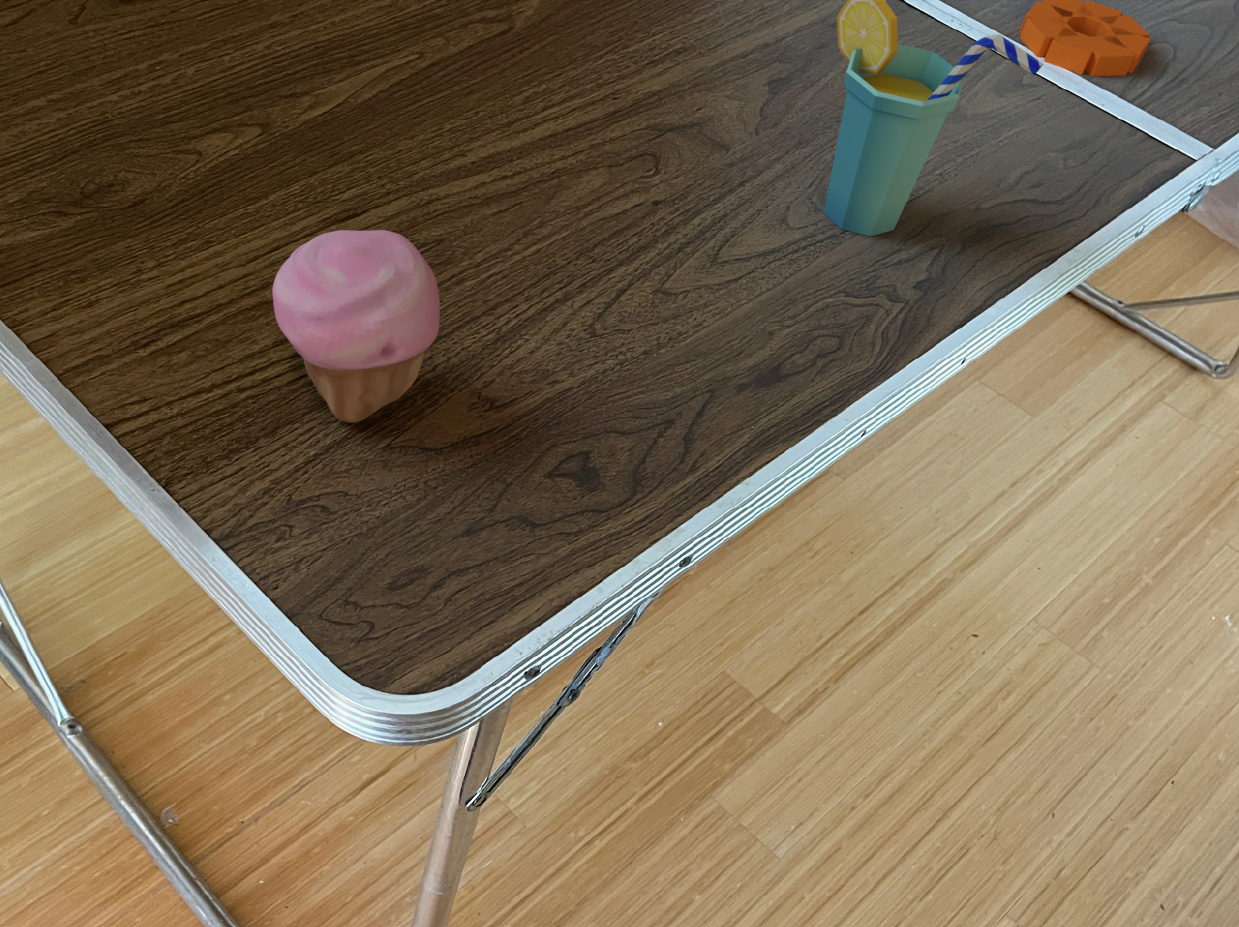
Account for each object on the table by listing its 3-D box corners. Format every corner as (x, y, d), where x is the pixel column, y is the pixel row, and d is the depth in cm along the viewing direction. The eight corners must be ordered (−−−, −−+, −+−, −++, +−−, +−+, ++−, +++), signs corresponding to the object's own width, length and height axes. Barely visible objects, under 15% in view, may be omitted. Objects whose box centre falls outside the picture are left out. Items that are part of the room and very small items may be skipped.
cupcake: (257, 369, 71) (240, 223, 64) (392, 324, 75) (390, 181, 68) (327, 468, 67) (318, 323, 59) (467, 415, 70) (474, 272, 63)
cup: (986, 239, 86) (1073, 32, 75) (934, 288, 82) (1017, 77, 71) (815, 156, 91) (871, -49, 80) (757, 199, 87) (809, -12, 76)
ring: (1144, 60, 106) (1161, 24, 103) (1112, 106, 100) (1130, 69, 98) (1035, 23, 109) (1050, -13, 106) (999, 65, 103) (1013, 28, 101)
